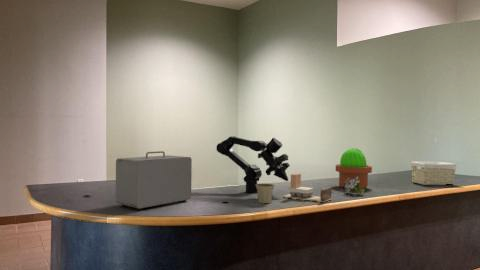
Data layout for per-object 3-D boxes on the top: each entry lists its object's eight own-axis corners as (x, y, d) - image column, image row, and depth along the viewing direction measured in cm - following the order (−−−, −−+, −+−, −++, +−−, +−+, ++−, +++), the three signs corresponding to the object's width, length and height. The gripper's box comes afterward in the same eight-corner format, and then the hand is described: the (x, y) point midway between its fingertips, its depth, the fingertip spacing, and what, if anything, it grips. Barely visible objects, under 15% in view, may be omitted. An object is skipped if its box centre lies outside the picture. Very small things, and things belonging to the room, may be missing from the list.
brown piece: (289, 195, 196) (289, 174, 196) (296, 193, 202) (296, 173, 202) (307, 198, 190) (307, 176, 190) (313, 195, 197) (313, 174, 197)
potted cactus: (334, 188, 230) (335, 148, 229) (336, 183, 251) (336, 146, 250) (372, 190, 223) (373, 149, 223) (370, 185, 244) (371, 147, 244)
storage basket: (441, 182, 265) (442, 161, 265) (457, 185, 249) (457, 163, 249) (409, 182, 263) (410, 161, 263) (423, 185, 247) (423, 163, 246)
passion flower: (347, 203, 211) (339, 184, 217) (365, 199, 213) (356, 181, 219) (353, 195, 202) (345, 175, 208) (371, 191, 204) (362, 172, 210)
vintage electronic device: (167, 196, 196) (167, 149, 196) (191, 201, 185) (191, 151, 184) (113, 206, 172) (113, 151, 171) (136, 212, 160) (137, 153, 160)
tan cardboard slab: (282, 197, 197) (282, 185, 197) (291, 195, 205) (291, 183, 205) (324, 203, 184) (324, 189, 184) (331, 200, 193) (331, 187, 192)
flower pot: (274, 204, 179) (274, 186, 179) (255, 204, 180) (255, 186, 180) (274, 200, 189) (274, 183, 189) (255, 200, 189) (255, 183, 189)
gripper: (270, 149, 196) (289, 172, 190) (286, 148, 211) (304, 169, 205) (257, 163, 200) (275, 186, 194) (274, 161, 216) (291, 182, 210)
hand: (287, 180), depth 201 cm, fingers closed
